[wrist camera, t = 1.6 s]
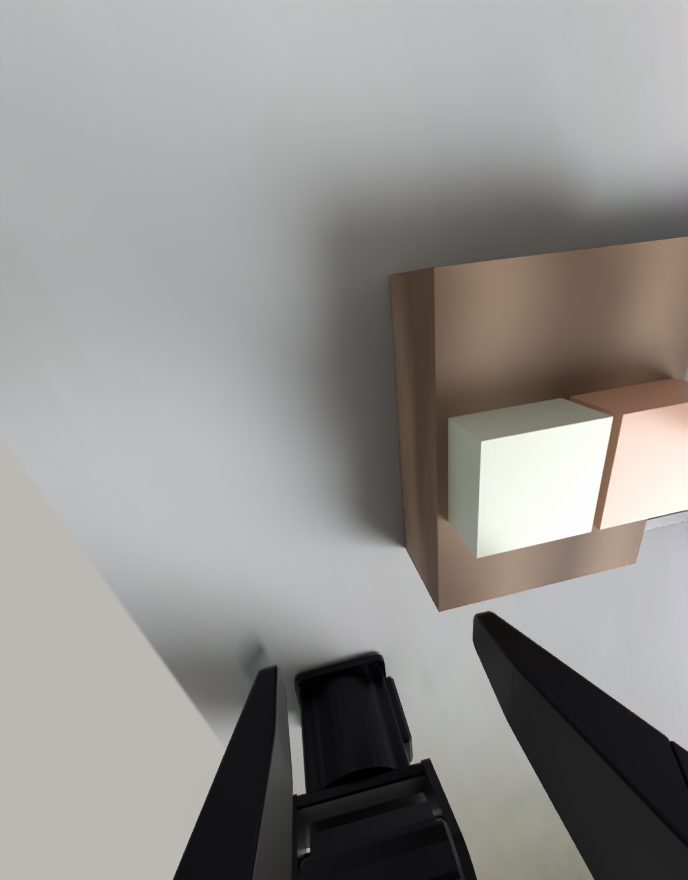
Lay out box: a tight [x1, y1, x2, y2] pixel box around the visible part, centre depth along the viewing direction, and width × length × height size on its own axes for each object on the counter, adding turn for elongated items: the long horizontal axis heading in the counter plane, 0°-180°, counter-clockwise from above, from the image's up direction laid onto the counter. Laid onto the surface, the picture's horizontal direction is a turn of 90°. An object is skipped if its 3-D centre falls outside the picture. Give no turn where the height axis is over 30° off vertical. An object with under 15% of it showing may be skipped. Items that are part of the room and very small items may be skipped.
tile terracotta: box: [569, 378, 688, 530], centre depth 15 cm, size 5×5×2 cm
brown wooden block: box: [390, 237, 688, 612], centre depth 18 cm, size 12×16×5 cm
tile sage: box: [448, 398, 613, 558], centre depth 14 cm, size 5×5×2 cm
